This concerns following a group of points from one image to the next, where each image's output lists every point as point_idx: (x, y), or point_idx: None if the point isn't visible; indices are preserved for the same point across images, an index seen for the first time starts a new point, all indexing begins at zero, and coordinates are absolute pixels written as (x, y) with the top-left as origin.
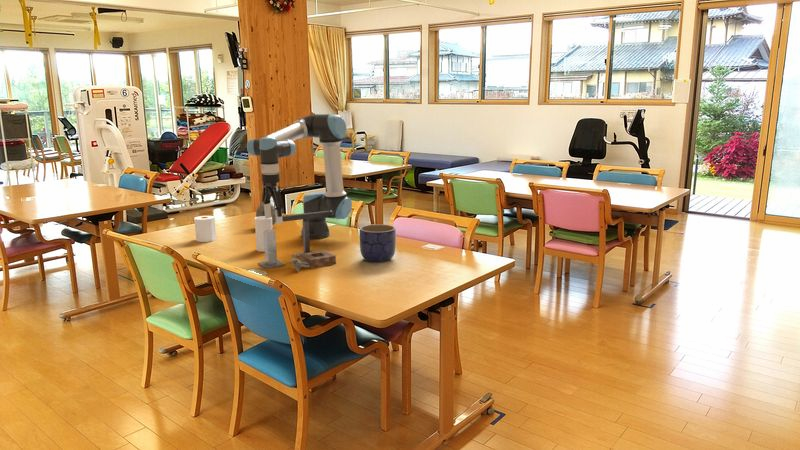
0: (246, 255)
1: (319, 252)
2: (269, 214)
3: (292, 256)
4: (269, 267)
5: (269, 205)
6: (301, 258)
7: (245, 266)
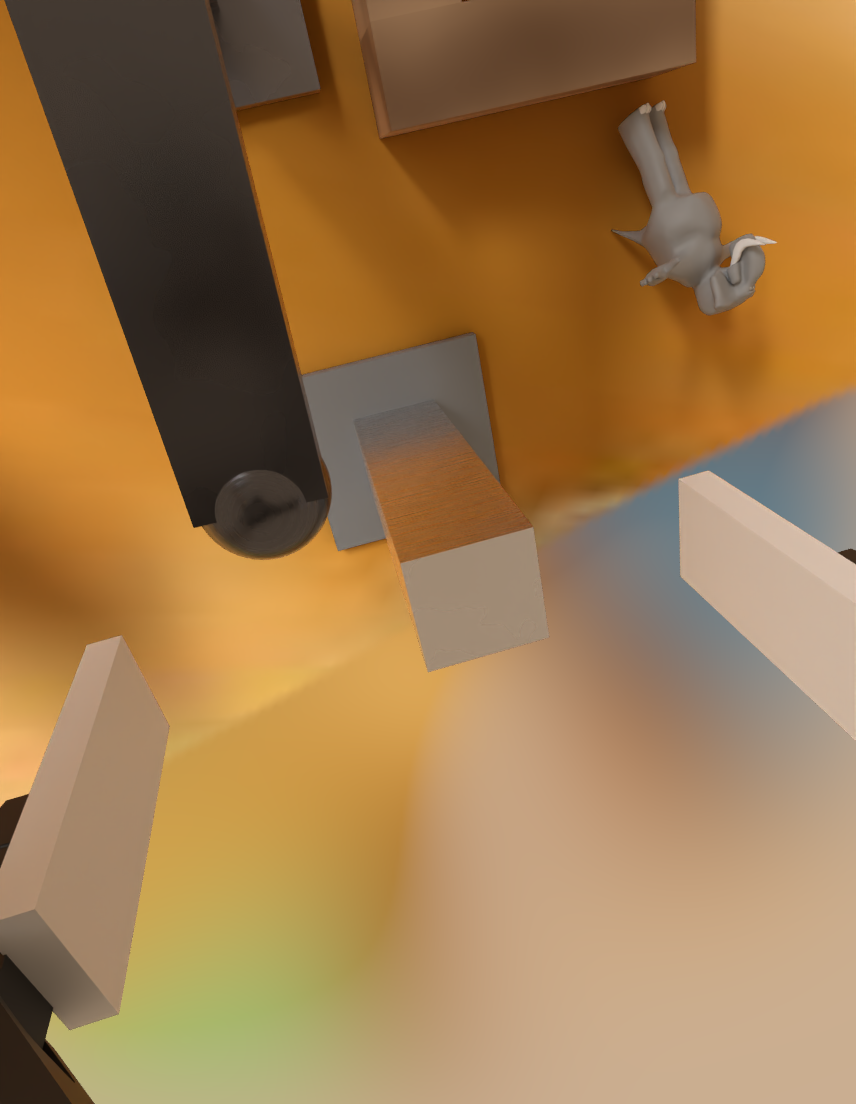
0: (9, 627)
1: None
2: (126, 712)
3: (655, 284)
4: (497, 469)
5: (65, 882)
6: (422, 126)
7: (372, 632)
